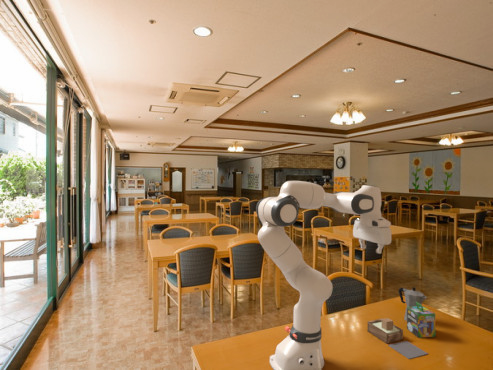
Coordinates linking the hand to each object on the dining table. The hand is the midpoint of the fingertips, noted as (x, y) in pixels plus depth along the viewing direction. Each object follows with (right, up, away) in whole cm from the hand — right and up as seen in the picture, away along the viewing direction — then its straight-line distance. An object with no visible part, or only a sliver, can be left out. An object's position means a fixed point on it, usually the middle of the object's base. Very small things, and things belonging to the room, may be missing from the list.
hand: (370, 250), depth 134 cm
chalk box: (+30, -44, +12) cm, 54 cm away
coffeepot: (+33, -44, +26) cm, 60 cm away
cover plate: (+11, -40, +9) cm, 42 cm away
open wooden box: (+11, -43, +9) cm, 45 cm away
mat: (+15, -43, -3) cm, 46 cm away
